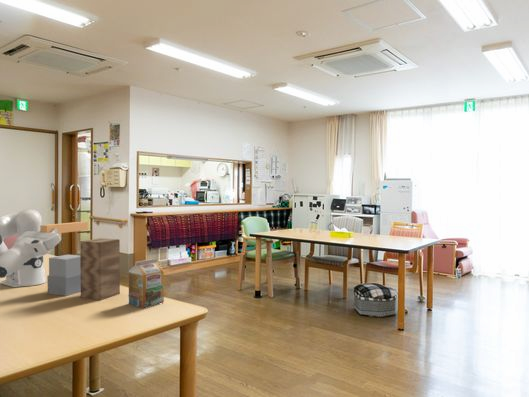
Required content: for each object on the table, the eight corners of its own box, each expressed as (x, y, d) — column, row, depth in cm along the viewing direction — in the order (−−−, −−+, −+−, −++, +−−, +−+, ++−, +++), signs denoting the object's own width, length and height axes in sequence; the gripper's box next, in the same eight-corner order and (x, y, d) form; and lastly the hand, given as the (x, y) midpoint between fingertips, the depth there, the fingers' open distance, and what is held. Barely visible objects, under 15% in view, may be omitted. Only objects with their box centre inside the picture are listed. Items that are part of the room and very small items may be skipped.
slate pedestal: (47, 293, 191) (47, 258, 191) (68, 287, 202) (68, 254, 202) (66, 296, 187) (65, 259, 186) (86, 290, 198) (86, 255, 197)
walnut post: (80, 297, 184) (80, 241, 184) (100, 291, 196) (100, 238, 195) (100, 300, 180) (100, 242, 179) (119, 293, 191) (119, 239, 190)
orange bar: (40, 234, 180) (40, 225, 180) (82, 229, 202) (82, 221, 202) (46, 234, 179) (46, 225, 178) (88, 229, 201) (88, 221, 201)
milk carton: (149, 298, 183) (149, 257, 182) (163, 303, 176) (163, 260, 176) (128, 303, 175) (128, 260, 174) (142, 308, 168) (142, 263, 167)
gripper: (14, 251, 178) (38, 233, 189) (48, 255, 170) (71, 235, 181) (7, 240, 174) (32, 222, 185) (42, 243, 167) (65, 224, 178)
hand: (51, 229), depth 183 cm, fingers closed on orange bar, 4 cm apart
